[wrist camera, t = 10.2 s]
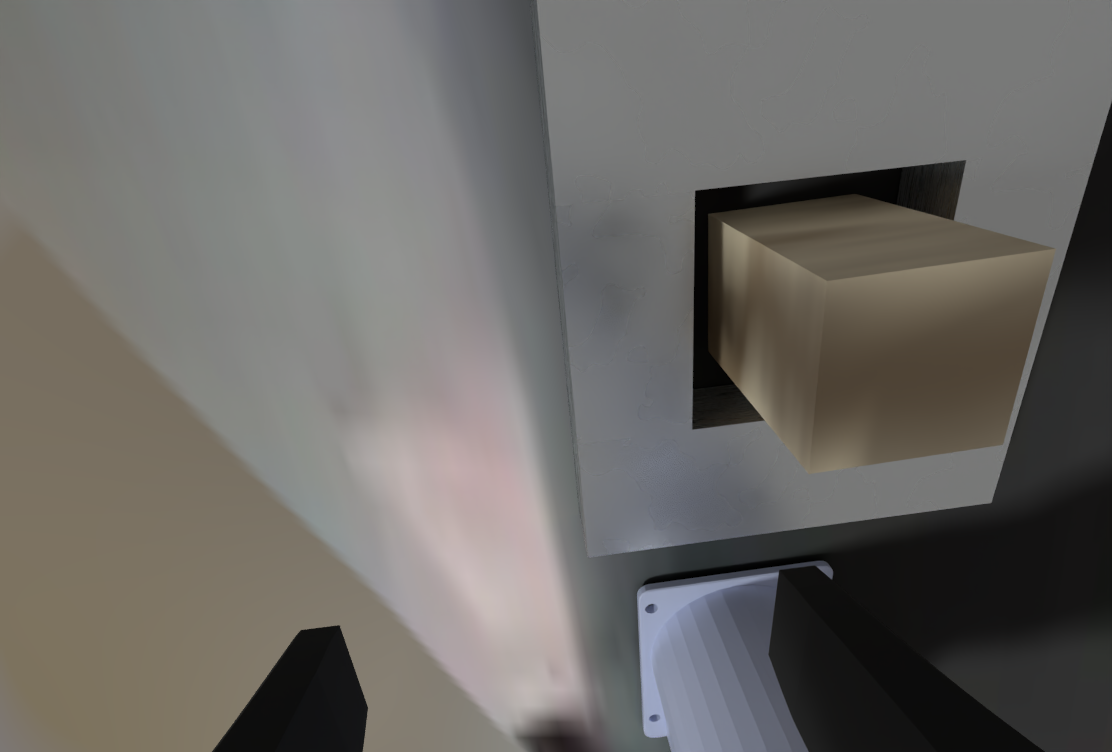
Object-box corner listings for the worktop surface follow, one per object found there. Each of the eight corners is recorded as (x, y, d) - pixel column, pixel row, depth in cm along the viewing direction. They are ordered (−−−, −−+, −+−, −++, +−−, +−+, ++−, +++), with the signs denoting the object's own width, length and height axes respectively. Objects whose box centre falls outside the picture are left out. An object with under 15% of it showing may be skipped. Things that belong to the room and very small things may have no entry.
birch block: (839, 332, 19) (1003, 444, 13) (707, 350, 19) (808, 474, 13) (854, 193, 17) (1055, 248, 11) (708, 213, 17) (827, 281, 11)
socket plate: (941, 461, 22) (991, 502, 20) (579, 509, 22) (588, 557, 19) (1064, -47, 15) (1163, -73, 13) (530, 6, 15) (535, -10, 12)
